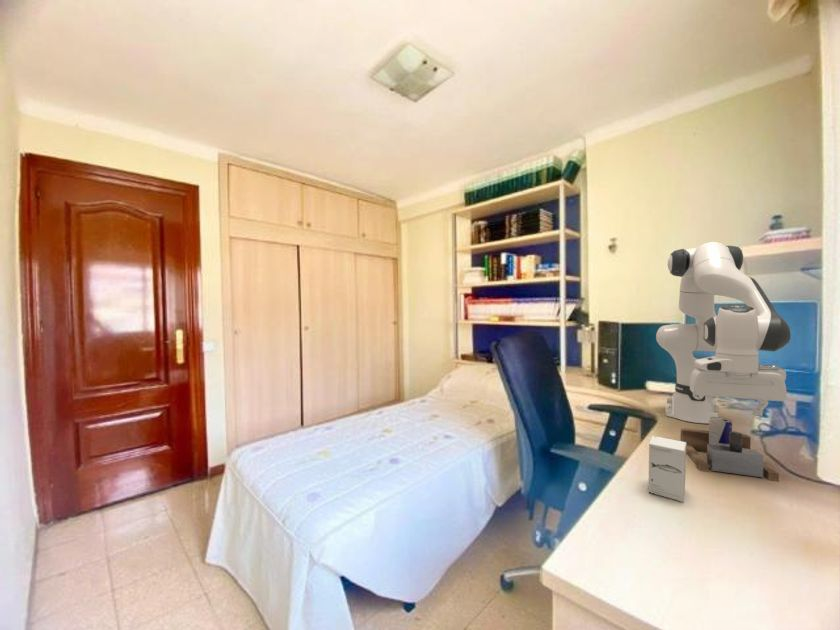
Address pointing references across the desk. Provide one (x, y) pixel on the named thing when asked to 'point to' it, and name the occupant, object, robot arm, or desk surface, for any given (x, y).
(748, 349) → the robot arm
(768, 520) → the desk surface
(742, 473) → the sliding jaw
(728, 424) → the energy drink
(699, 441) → the vise frame
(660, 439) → the supplement box
